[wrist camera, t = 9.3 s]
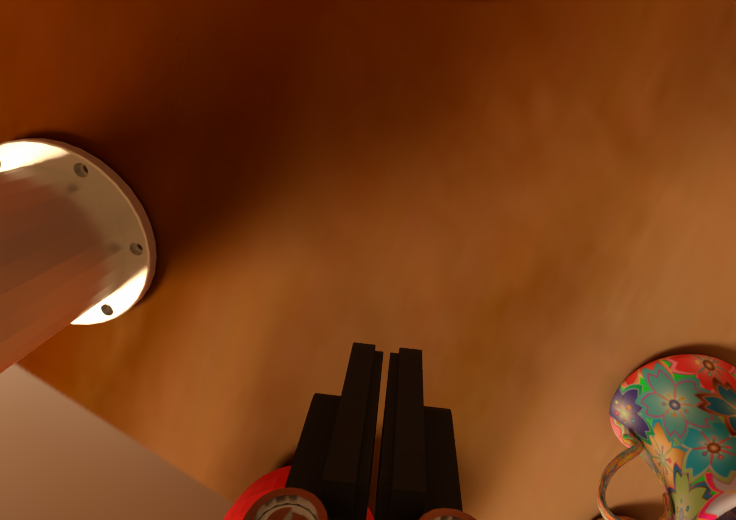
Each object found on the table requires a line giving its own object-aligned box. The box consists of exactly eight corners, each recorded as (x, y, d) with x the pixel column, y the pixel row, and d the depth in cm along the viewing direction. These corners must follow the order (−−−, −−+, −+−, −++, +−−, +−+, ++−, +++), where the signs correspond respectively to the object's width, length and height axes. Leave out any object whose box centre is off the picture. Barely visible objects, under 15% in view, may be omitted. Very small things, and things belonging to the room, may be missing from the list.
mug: (756, 333, 27) (945, 475, 18) (739, 447, 31) (890, 619, 21) (554, 353, 29) (623, 491, 20) (559, 458, 33) (620, 620, 23)
